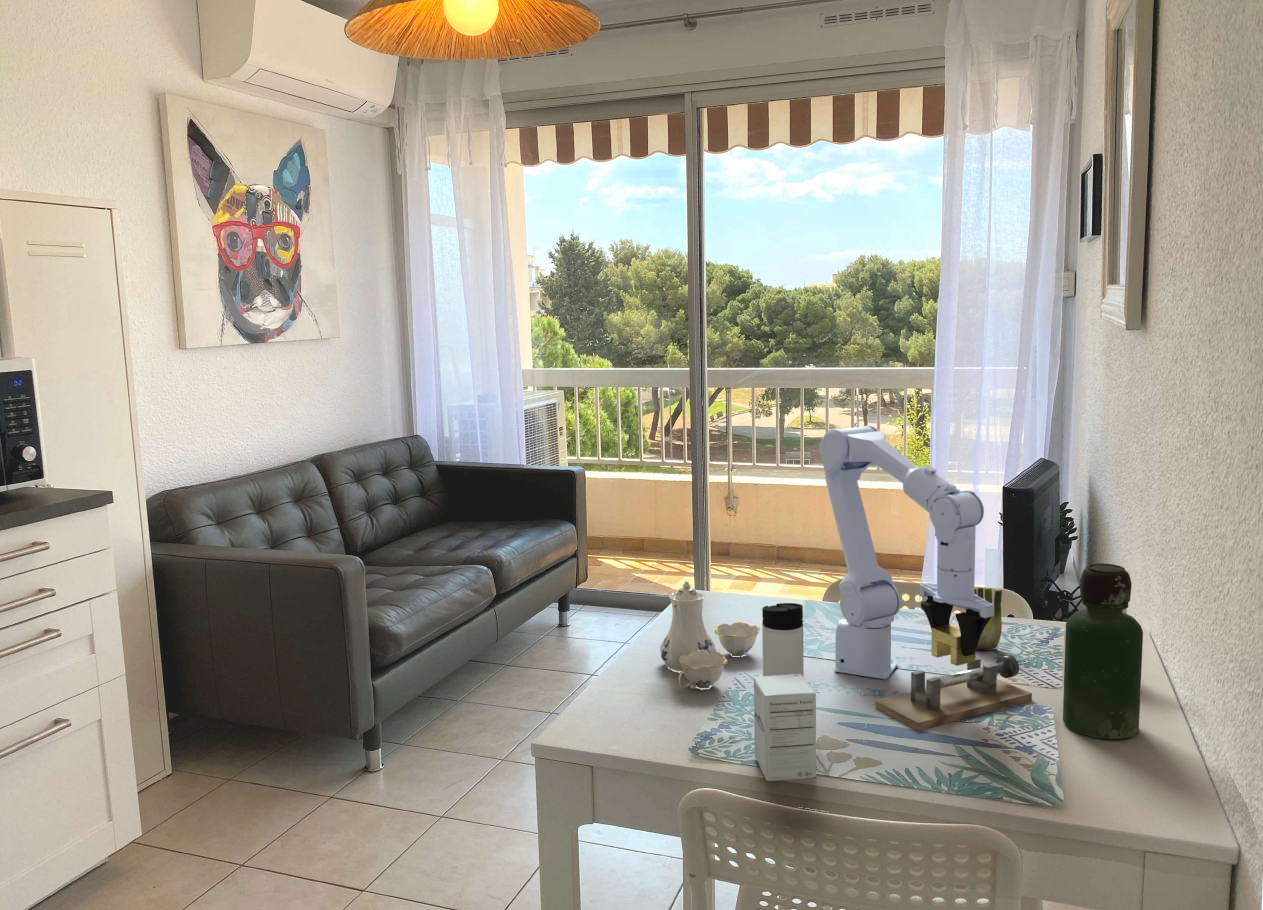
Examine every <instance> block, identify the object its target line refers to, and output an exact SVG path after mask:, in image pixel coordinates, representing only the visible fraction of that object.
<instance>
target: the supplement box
mask: <svg viewBox="0 0 1263 910" xmlns="http://www.w3.org/2000/svg"><path fill="white" fill-rule="evenodd" d="M816 697H817V695H816V692H815V690H814V689H813V688H812V686H811V685H810V684H809V682H808V681H807V680H806V678H805V677H803V676H802V674H788V675H775V676H763V675H762V676H754V677H753V704H754V705H753V707H754V708H753V709H754V710H753V717H754V718H753V721H754V724H753V725H754V729H753V730H754V759H755V758H756V759H757V760H756V759H755V760H756V762H757V761H758V762H757V764H758V763H759V764H758V766H759V768H760V770H761V772H762V774H763V776H764V778H765V781H767V782H776V781H777V782H778V781H779V782H780V781H789V780H791V781H793V780H805V779H806V780H807V778H808V779H815V778H816V777H817V698H816ZM814 777H815V778H814Z"/></svg>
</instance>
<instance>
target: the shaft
mask: <svg viewBox="0 0 1263 910" xmlns="http://www.w3.org/2000/svg"><path fill="white" fill-rule="evenodd" d="M994 664H995V665H997V676H999V675H1000V676H1001V677H1002V678H1003V679H1010V678H1014V677H1016V676H1018V674H1019V672H1020V666H1019V665H1020V664H1019V663H1018V660H1017V659H1016V658H1015V657H1014V656H1013V655H1010V654H1007V655H1002V656H998V657H997V659H996V661H995V663H994ZM937 678H940V679H941V688H946V687H950V686H954V685H958V684H962V683H966V682H970V681H974V680H978V679H982V678H983V666H981V667H980V668H975V669H971V670H967V669H966V670H963V671H959V672H956V673H951V674H947V675H943V676H939V677H937Z"/></svg>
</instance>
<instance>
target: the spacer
mask: <svg viewBox="0 0 1263 910" xmlns="http://www.w3.org/2000/svg"><path fill="white" fill-rule="evenodd" d="M976 653H977V652H975V654H974V655H970V656H964V655H963V654H962V649H961V634H960V628H959V625H958V626H957V625H954V624H952V623H949V624H947V625H942V626H937V627H933V628H932V630H931V657H934V658H938V659H939V658H942V657H946V656H949V655H950V664H951V665H952V666H953V665H954V666H956V667H958V666H962V665H967V663H970V662H975V657H976Z"/></svg>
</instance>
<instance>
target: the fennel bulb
mask: <svg viewBox="0 0 1263 910" xmlns="http://www.w3.org/2000/svg"><path fill="white" fill-rule="evenodd" d="M974 594H976V595H977V596H979V597H981V598H982V599H984V600H986V601H987V602H989V603H992V604H994V616H993V617H991V619H990V620H989V621H988V623H987V624H986V626H985V628H984V630H983V632H982V634H981V636H980V639H979V642H978V645H977V648H976V650H977V649H978V650H984V651H985V650H986V651H991V650H995V649H996V648H997V647H998V645H999V644H1000V640H1001V636H1002V628H1003V627H1002V626H1003V621H1002V597H1003V596H1002V594H1003V590H1002V589H999V588H997V589H996V588H995V589H994V596H993V593H992V587H985V588H984V587H981V586H979V587H977V588H976V587H974Z"/></svg>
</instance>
